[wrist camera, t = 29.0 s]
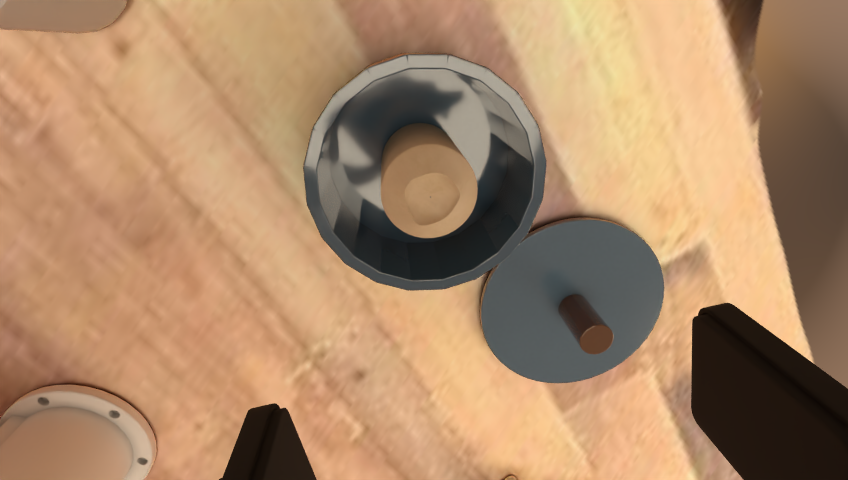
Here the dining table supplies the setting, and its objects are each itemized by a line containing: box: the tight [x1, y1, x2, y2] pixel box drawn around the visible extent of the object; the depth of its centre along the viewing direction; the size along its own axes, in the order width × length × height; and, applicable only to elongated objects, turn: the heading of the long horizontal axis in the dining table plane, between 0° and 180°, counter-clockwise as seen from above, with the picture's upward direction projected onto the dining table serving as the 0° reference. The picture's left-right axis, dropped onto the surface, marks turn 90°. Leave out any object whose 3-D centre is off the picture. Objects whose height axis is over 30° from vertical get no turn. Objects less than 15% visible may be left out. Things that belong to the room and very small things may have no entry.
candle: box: [381, 123, 478, 238], centre depth 30 cm, size 6×6×10 cm
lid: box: [480, 218, 664, 383], centre depth 38 cm, size 16×16×6 cm
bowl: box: [303, 53, 546, 290], centre depth 32 cm, size 15×15×7 cm
